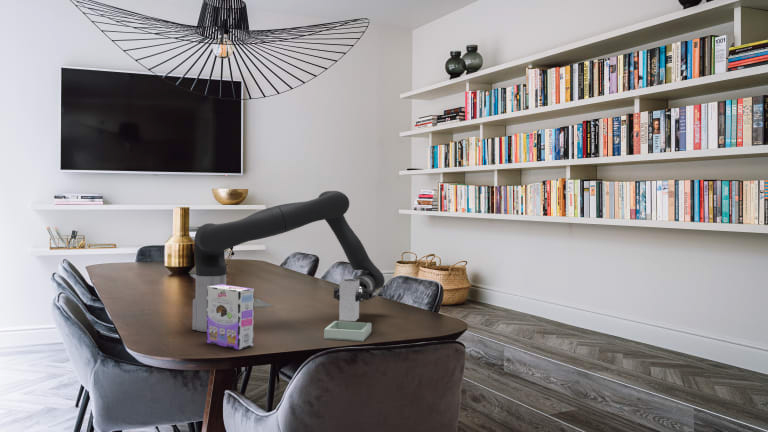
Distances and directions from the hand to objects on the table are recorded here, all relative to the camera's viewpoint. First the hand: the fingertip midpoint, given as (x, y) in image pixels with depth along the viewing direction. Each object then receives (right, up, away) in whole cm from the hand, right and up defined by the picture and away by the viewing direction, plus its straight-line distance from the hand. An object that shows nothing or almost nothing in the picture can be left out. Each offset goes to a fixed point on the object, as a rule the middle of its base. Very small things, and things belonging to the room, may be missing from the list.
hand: (347, 297), depth 173 cm
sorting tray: (0, -12, +3) cm, 12 cm away
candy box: (-33, -12, -11) cm, 37 cm away
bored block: (0, -7, +3) cm, 7 cm away
